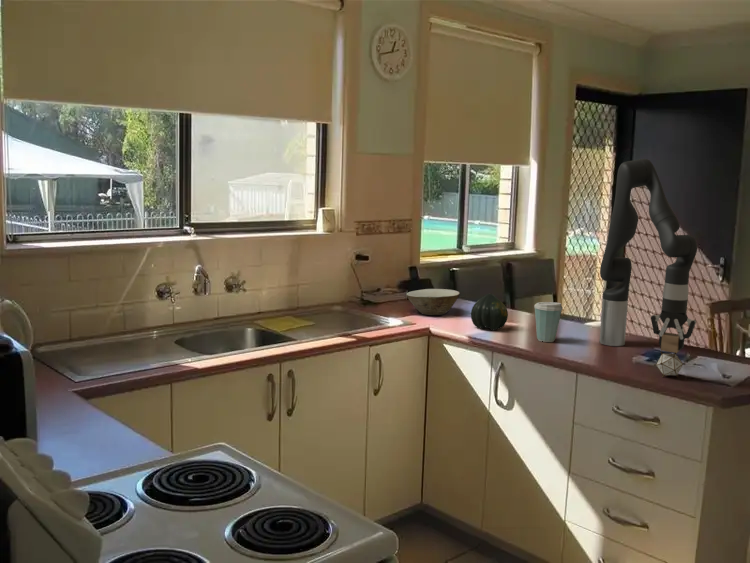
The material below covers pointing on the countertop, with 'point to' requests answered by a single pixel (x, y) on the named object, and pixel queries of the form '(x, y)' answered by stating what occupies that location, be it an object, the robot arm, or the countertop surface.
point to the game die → (669, 364)
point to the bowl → (433, 300)
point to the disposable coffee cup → (547, 320)
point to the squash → (489, 313)
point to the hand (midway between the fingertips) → (670, 348)
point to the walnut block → (670, 342)
